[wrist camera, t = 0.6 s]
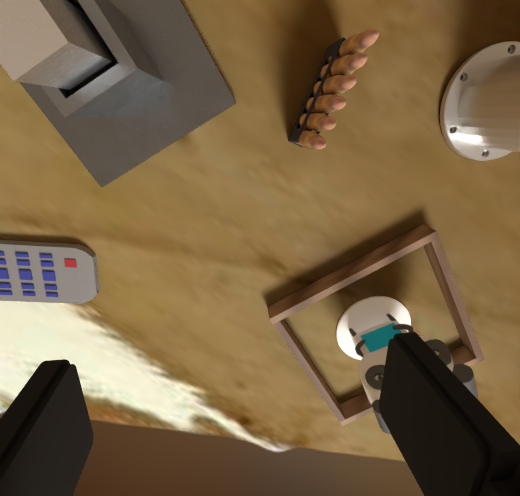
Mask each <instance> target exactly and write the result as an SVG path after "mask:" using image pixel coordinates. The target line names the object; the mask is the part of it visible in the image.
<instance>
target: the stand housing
mask: <svg viewBox="0 0 520 496" xmlns="http://www.w3.org/2000/svg"><path fill="white" fill-rule="evenodd" d="M67 1H69V2H70V3H71V4H73V5H74V6H76V7H77V8H79V9H80V10H82V11H83V12H85V13H86V14H87V15H88V17H89V18H90V20H91V21H92V23H93V24H94V26H95V27H96V29H97V31H98V32H99V34H100V35H101V37H102V38H103V40H104V41H105V43H106V44H107V46H108V47H109V49H110V50H111V52H112V53H113V55H114V57H115V58H116V60H117V61H118V64H116V65H115V66H113V67H112V68H111V69H109V70H108V71H106V72H105V73H103V74H102V75H100V76H99V77H97V78H96V79H94V80H93V81H91V82H90V83H89V84H87V85H86V86H84V87H83V88H81V89H80V90H78V91H76V90H69V89H62V88H56V87H49V86H43V85H36V84H30V83H23V82H20V83H21V85H22V86H23V87H24V88H25V90H26V91H27V92H28V94H29V95H30V96H31V97H32V99H33V100H34V101H35V103H36V104H37V105H38V106H39V108H40V109H41V110H42V112H43V113H44V114H45V115H46V117H47V118H48V119H49V121H50V122H51V123H52V124H53V126H54V127H55V128H56V130H57V131H58V132H59V133H60V135H61V136H62V137H63V139H64V140H65V141H66V142H67V144H68V145H69V146H70V148H71V149H72V150H73V151H74V153H75V154H76V155H77V157H78V158H79V159H80V160H81V162H82V163H83V164H84V166H85V167H86V168H87V169H88V171H89V172H90V173H91V175H92V176H93V177H94V178H95V180H96V181H97V182H98V184H99V185H100V186H101V187H104V186H105V185H107V184H109V183H110V182H112V181H113V180H115V179H117V178H118V177H120V176H121V175H123V174H125V173H126V172H128V171H129V170H131V169H132V168H134V167H136V166H137V165H139V164H140V163H142V162H144V161H145V160H147V159H148V158H150V157H151V156H153V155H155V154H156V153H158V152H159V151H161V150H163V149H164V148H166V147H167V146H169V145H171V144H172V143H174V142H175V141H177V140H178V139H180V138H182V137H183V136H185V135H186V134H188V133H190V132H191V131H193V130H194V129H196V128H198V127H199V126H201V125H202V124H204V123H205V122H207V121H209V120H210V119H212V118H213V117H215V116H217V115H218V114H220V113H221V112H223V111H225V110H226V109H228V108H229V107H231V106H232V105H234V104H236V101H235V99H234V97H233V96H232V94H231V92H230V90H229V88H228V86H227V85H226V83H225V81H224V79H223V77H222V75H221V74H220V72H219V70H218V68H217V66H216V65H215V63H214V61H213V59H212V57H211V55H210V54H209V52H208V50H207V48H206V46H205V45H204V43H203V41H202V39H201V37H200V35H199V34H198V32H197V30H196V28H195V26H194V24H193V23H192V21H191V19H190V17H189V15H188V14H187V12H186V10H185V8H184V6H183V4H182V3H181V1H180V0H67Z"/></svg>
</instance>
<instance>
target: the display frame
mask: <svg viewBox="0 0 520 496" xmlns="http://www.w3.org/2000/svg"><path fill="white" fill-rule="evenodd" d="M422 246H424V248H425V250H426V253H427V255H428V258H429V260H430V263H431V265H432V268H433V270H434V273H435V275H436V277H437V280H438V282H439V285H440V287H441V290H442V292H443V295H444V297H445V300H446V302H447V305H448V307H449V310H450V312H451V315H452V317H453V320H454V322H455V325H456V327H457V330H458V332H459V335H460V337H461V340H462V342H463V346H461V347H459V348H457V349H455V350H453V351H451V352H450V354H451V356H452V360H453V364H454V365H456V364H465V365H467V366H469V367H470V366H472V365H474V364H476V363H478V362H481V361H483V360H484V357H483V354H482V352H481V349H480V346H479V344H478V341H477V338H476V336H475V333H474V330H473V328H472V325H471V322H470V320H469V317H468V315H467V312H466V309H465V307H464V304H463V301H462V299H461V296H460V293H459V291H458V288H457V285H456V283H455V280H454V277H453V275H452V272H451V269H450V267H449V264H448V261H447V259H446V256H445V253H444V251H443V248H442V245H441V243H440V240H439V237H438V235H437V232H436V231H435V230H433V229H431V228H430V227H428V226H426V225H424V224H422V225H420V226H419V227H417V228H415V229H413V230H411V231H409V232H407V233H405V234H404V235H402V236H400V237H398V238H396V239H394V240H392V241H390V242H389V243H387V244H385V245H383V246H381V247H379V248H377V249H375V250H374V251H372V252H370V253H368V254H366V255H364V256H362V257H360V258H359V259H357V260H355V261H353V262H351V263H349V264H347V265H345V266H344V267H342V268H340V269H338V270H336V271H334V272H332V273H330V274H329V275H327V276H325V277H323V278H321V279H319V280H317V281H315V282H314V283H312V284H310V285H308V286H306V287H304V288H302V289H300V290H299V291H297V292H295V293H293V294H291V295H289V296H287V297H285V298H284V299H282V300H280V301H278V302H276V303H274V304H272V305H270V306H269V307H268V313H269V318H270V320H271V322H272V323H273V325H274V326H275V328H276V329H277V331H278V332H279V334H280V335H281V337H282V338H283V339H284V341H285V342H286V344H287V345H288V347H289V348H290V350H291V351H292V353H293V354H294V356H295V357H296V359H297V360H298V362H299V363H300V365H301V366H302V367H303V369H304V370H305V372H306V373H307V375H308V376H309V378H310V379H311V381H312V382H313V384H314V385H315V387H316V388H317V390H318V391H319V393H320V394H321V395H322V397H323V398H324V400H325V401H326V403H327V404H328V406H329V407H330V409H331V410H332V412H333V413H334V415H335V416H336V418H337V419H338V421H339V422H340V423H341V425H342V426H343V425H346V424H348V423H350V422H352V421H354V420H356V419H358V418H361V417H363V416H365V415H367V414H369V413H371V412H373V411H374V410H373V407H372V405H371V403H370V402H369V400H368V397H367V395H366V392H365V393H363V394H360V395H358V396H356V397H354V398H352V399H350V400H348V401H346V402H344V403H342V404H339V403H338V401H337V400H336V398H335V396H334V395H333V393H332V392H331V390H330V389H329V387H328V386H327V384H326V383H325V381H324V380H323V378H322V377H321V375H320V374H319V372H318V371H317V369H316V368H315V366H314V365H313V363H312V361H311V360H310V358H309V357H308V355H307V354H306V352H305V351H304V349H303V348H302V346H301V345H300V343H299V342H298V340H297V339H296V337H295V336H294V334H293V333H292V331H291V330H290V328H289V326H288V325H287V323H286V322H285V320H284V318H286V317H288V316H290V315H292V314H294V313H296V312H298V311H300V310H302V309H303V308H305V307H307V306H309V305H311V304H313V303H315V302H317V301H319V300H321V299H322V298H324V297H326V296H328V295H330V294H332V293H334V292H336V291H338V290H340V289H342V288H343V287H345V286H347V285H349V284H351V283H353V282H355V281H357V280H359V279H361V278H363V277H364V276H366V275H368V274H370V273H372V272H374V271H376V270H378V269H380V268H382V267H384V266H385V265H387V264H389V263H391V262H393V261H395V260H397V259H399V258H401V257H403V256H404V255H406V254H408V253H410V252H412V251H414V250H416V249H418V248H420V247H422Z"/></svg>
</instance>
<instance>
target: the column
mask: <svg viewBox="0 0 520 496" xmlns="http://www.w3.org/2000/svg"><path fill="white" fill-rule="evenodd" d="M0 64H1V65H2V67H3V68H4V69H5V71H6V72H7V73H8V74H9V76H10V77H11V78H12V80H13V81H17V82H23V83H30V84H36V85H43V86H49V87H56V88H62V89H69V90H76V91H78V90H80V89H81V88H83V87H84V86H86V85H87V84H89V83H90V82H91V81H93V80H94V79H96V78H97V77H99V76H100V75H102V74H103V73H105V72H106V71H108V70H109V69H111V68H112V67H113V66H115V65H116V64H118V61H117V60H116V58H115V57H114V55H113V53H112V52H111V50H110V49H109V47H108V46H107V44H106V43H105V41H104V40H103V38H102V37H101V35H100V34H99V32H98V31H97V29H96V27H95V26H94V24H93V23H92V21H91V20H90V18H89V17H88V15H87V14H86V13H85V12H83V11H82V10H80V9H79V8H77V7H76V6H74V5H73V4H71V3H70V2H69V1H67V0H0Z"/></svg>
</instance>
